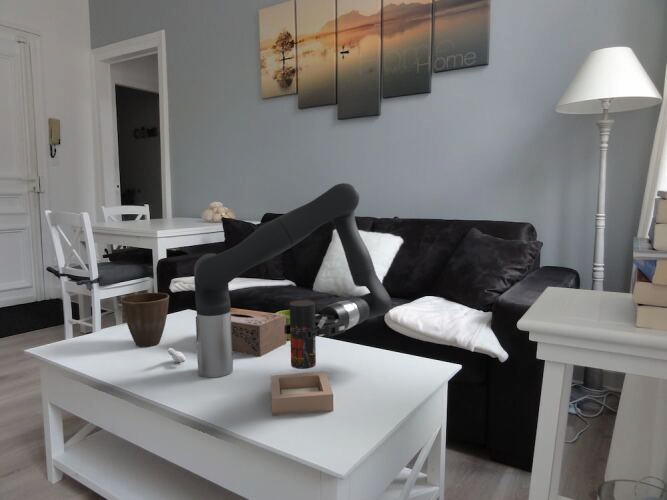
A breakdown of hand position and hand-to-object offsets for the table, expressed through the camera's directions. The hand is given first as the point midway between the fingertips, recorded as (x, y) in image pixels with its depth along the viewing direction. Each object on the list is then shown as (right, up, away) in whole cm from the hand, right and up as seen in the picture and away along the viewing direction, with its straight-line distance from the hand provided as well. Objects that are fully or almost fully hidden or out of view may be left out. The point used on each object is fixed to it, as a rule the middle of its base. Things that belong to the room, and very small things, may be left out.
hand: (296, 332), depth 114 cm
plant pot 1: (-53, -13, +50) cm, 74 cm away
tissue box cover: (-22, -13, +48) cm, 54 cm away
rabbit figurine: (-37, -15, +30) cm, 50 cm away
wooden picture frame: (+1, -17, +4) cm, 18 cm away
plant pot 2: (-7, -11, +54) cm, 56 cm away
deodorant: (+2, -8, +3) cm, 9 cm away
